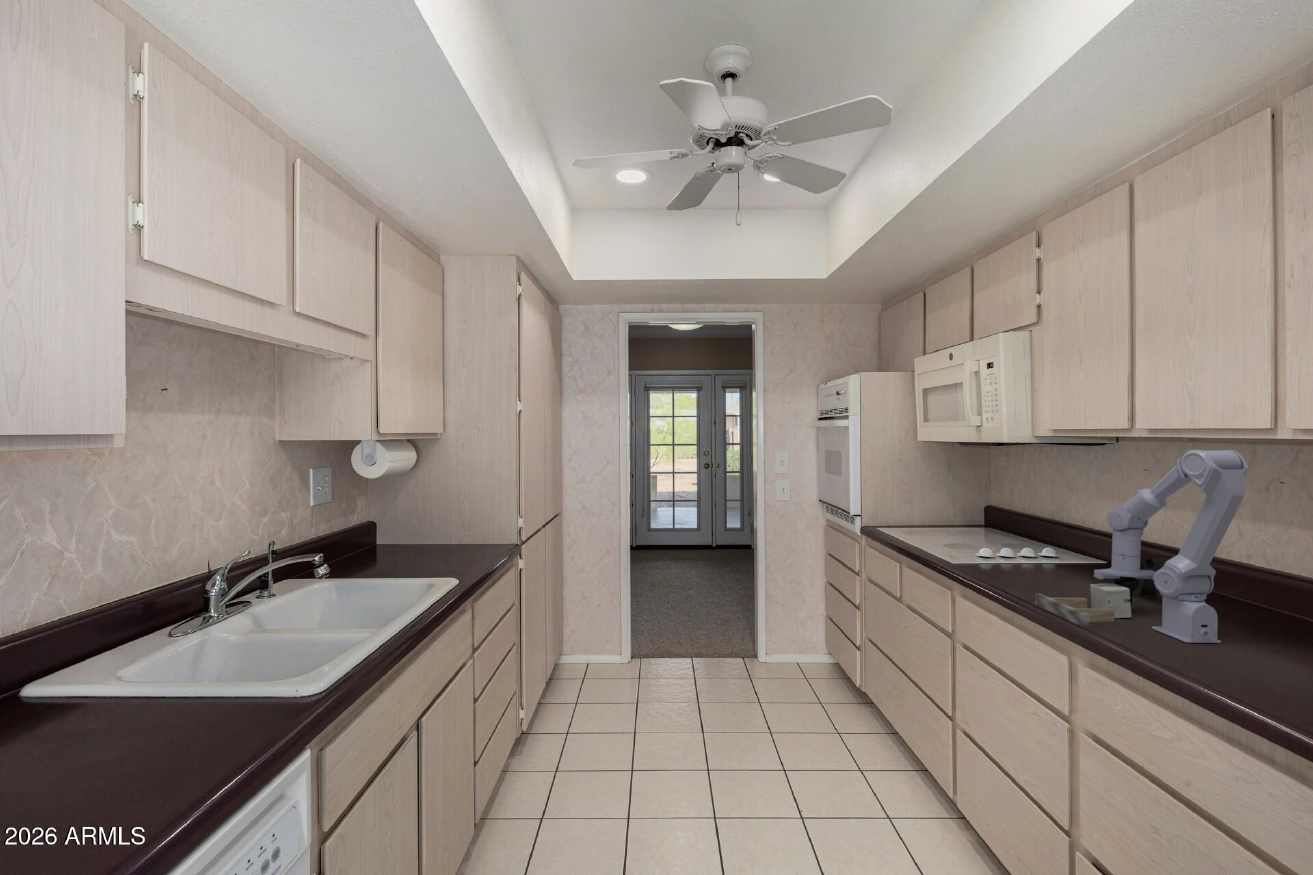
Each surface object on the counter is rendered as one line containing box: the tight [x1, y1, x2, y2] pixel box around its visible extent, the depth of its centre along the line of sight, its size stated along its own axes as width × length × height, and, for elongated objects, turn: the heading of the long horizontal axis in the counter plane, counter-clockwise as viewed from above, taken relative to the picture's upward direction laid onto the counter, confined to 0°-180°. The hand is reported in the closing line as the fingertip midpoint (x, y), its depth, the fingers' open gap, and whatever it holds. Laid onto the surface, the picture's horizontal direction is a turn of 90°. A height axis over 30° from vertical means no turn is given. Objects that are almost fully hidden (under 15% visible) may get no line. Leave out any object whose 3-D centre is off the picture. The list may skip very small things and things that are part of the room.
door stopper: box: [1133, 556, 1171, 605], centre depth 163 cm, size 9×6×12 cm, turn 9°
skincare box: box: [1089, 582, 1132, 619], centre depth 150 cm, size 6×6×7 cm
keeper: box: [1034, 592, 1115, 628], centre depth 150 cm, size 18×11×3 cm, turn 179°
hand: (1124, 606), depth 150 cm, fingers closed, pressing on skincare box
